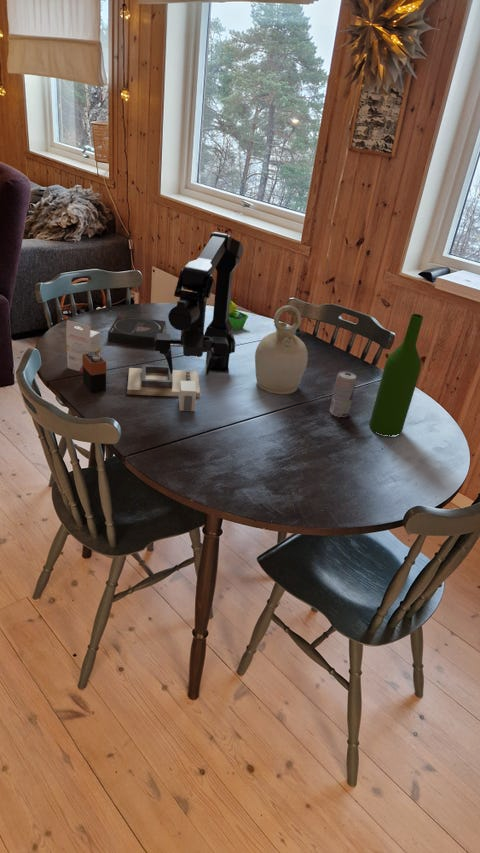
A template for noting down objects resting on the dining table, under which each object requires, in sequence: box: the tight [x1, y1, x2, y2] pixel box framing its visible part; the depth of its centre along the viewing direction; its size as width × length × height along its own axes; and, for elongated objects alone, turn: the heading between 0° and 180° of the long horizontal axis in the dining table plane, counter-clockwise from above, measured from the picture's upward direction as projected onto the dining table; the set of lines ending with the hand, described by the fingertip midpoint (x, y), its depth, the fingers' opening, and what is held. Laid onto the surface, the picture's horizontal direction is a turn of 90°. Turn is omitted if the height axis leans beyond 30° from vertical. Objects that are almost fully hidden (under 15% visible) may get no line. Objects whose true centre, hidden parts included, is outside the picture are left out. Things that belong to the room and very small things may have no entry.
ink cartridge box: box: [65, 319, 101, 373], centre depth 161 cm, size 9×5×15 cm, turn 68°
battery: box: [82, 351, 107, 395], centre depth 153 cm, size 4×7×10 cm, turn 34°
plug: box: [178, 381, 197, 412], centre depth 151 cm, size 4×7×6 cm, turn 7°
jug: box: [254, 304, 309, 396], centre depth 164 cm, size 15×16×25 cm
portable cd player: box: [107, 315, 168, 349], centre depth 191 cm, size 16×17×4 cm
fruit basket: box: [228, 298, 249, 331], centre depth 208 cm, size 11×9×11 cm
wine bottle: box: [368, 313, 424, 436], centre depth 146 cm, size 9×9×32 cm
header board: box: [126, 364, 201, 398], centre depth 161 cm, size 20×14×4 cm
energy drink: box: [329, 370, 358, 418], centre depth 156 cm, size 5×5×12 cm
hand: (189, 374), depth 148 cm, fingers open, 9 cm apart
